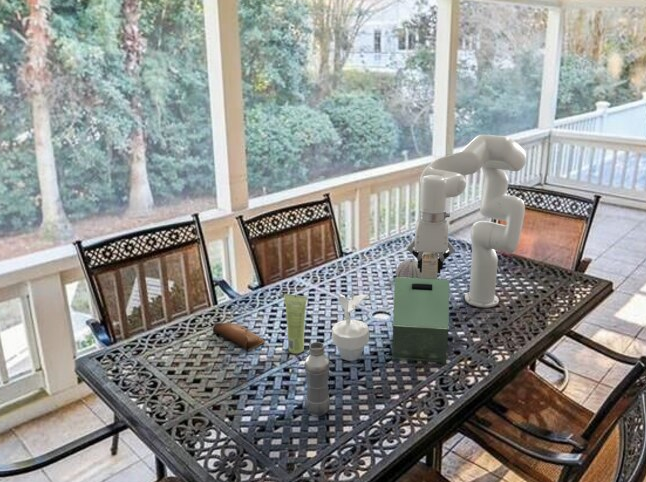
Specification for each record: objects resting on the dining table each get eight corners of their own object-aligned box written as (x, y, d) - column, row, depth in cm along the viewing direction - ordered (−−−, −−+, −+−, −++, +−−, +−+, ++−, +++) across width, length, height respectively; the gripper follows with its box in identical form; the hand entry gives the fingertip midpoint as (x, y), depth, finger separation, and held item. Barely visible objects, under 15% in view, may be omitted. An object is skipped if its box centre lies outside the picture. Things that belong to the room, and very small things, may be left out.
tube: (302, 344, 176) (300, 289, 170) (308, 351, 171) (306, 296, 166) (286, 348, 173) (283, 293, 168) (291, 356, 169) (289, 300, 163)
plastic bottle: (305, 404, 146) (303, 339, 140) (329, 403, 146) (329, 338, 141) (305, 420, 140) (303, 353, 134) (331, 418, 140) (330, 351, 134)
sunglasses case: (266, 340, 177) (258, 328, 173) (253, 357, 174) (244, 346, 169) (232, 323, 188) (223, 312, 184) (218, 339, 185) (209, 328, 181)
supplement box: (436, 299, 166) (437, 260, 162) (420, 298, 167) (421, 259, 163) (437, 288, 173) (438, 250, 170) (422, 287, 174) (423, 249, 171)
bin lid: (394, 277, 165) (394, 277, 160) (449, 279, 163) (450, 279, 158) (393, 324, 163) (392, 326, 158) (448, 327, 161) (449, 329, 156)
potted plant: (342, 370, 161) (342, 295, 154) (326, 351, 171) (324, 280, 164) (378, 359, 167) (380, 286, 160) (360, 342, 177) (360, 272, 169)
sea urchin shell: (389, 281, 222) (389, 263, 220) (403, 270, 233) (404, 252, 231) (418, 288, 216) (419, 269, 213) (432, 276, 227) (432, 258, 224)
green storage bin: (393, 337, 179) (394, 305, 176) (444, 340, 177) (445, 308, 174) (392, 359, 167) (393, 326, 163) (446, 363, 165) (448, 329, 161)
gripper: (459, 213, 165) (456, 267, 170) (404, 211, 167) (402, 265, 172) (461, 220, 158) (458, 277, 163) (403, 218, 160) (402, 274, 165)
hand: (429, 270), depth 168 cm, fingers closed on supplement box, 5 cm apart
